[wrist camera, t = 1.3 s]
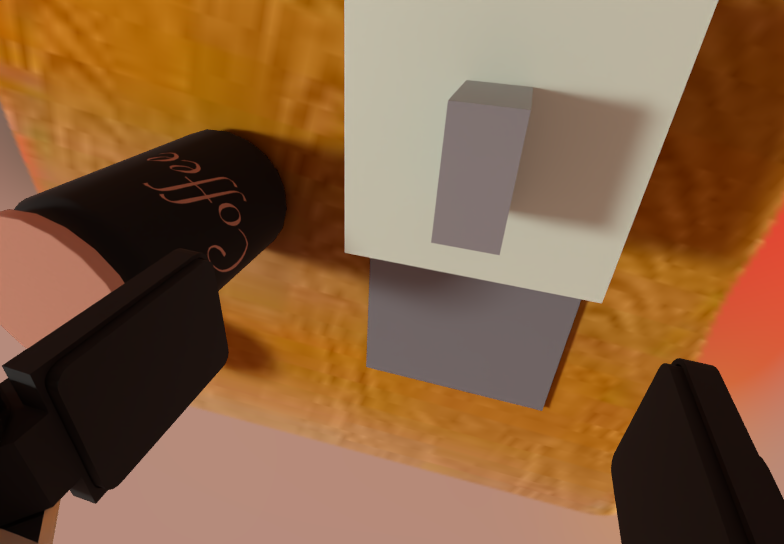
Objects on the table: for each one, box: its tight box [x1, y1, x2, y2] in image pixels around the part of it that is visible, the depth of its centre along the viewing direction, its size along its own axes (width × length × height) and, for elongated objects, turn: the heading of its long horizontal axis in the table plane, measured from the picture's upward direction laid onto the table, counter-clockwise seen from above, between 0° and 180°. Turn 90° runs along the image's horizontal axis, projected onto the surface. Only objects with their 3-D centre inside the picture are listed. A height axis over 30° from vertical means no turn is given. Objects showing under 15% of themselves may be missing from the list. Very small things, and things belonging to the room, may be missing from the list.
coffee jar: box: [0, 129, 287, 349], centre depth 31 cm, size 11×11×18 cm
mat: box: [366, 258, 581, 411], centre depth 38 cm, size 17×17×1 cm
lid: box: [344, 0, 718, 303], centre depth 21 cm, size 15×15×7 cm
